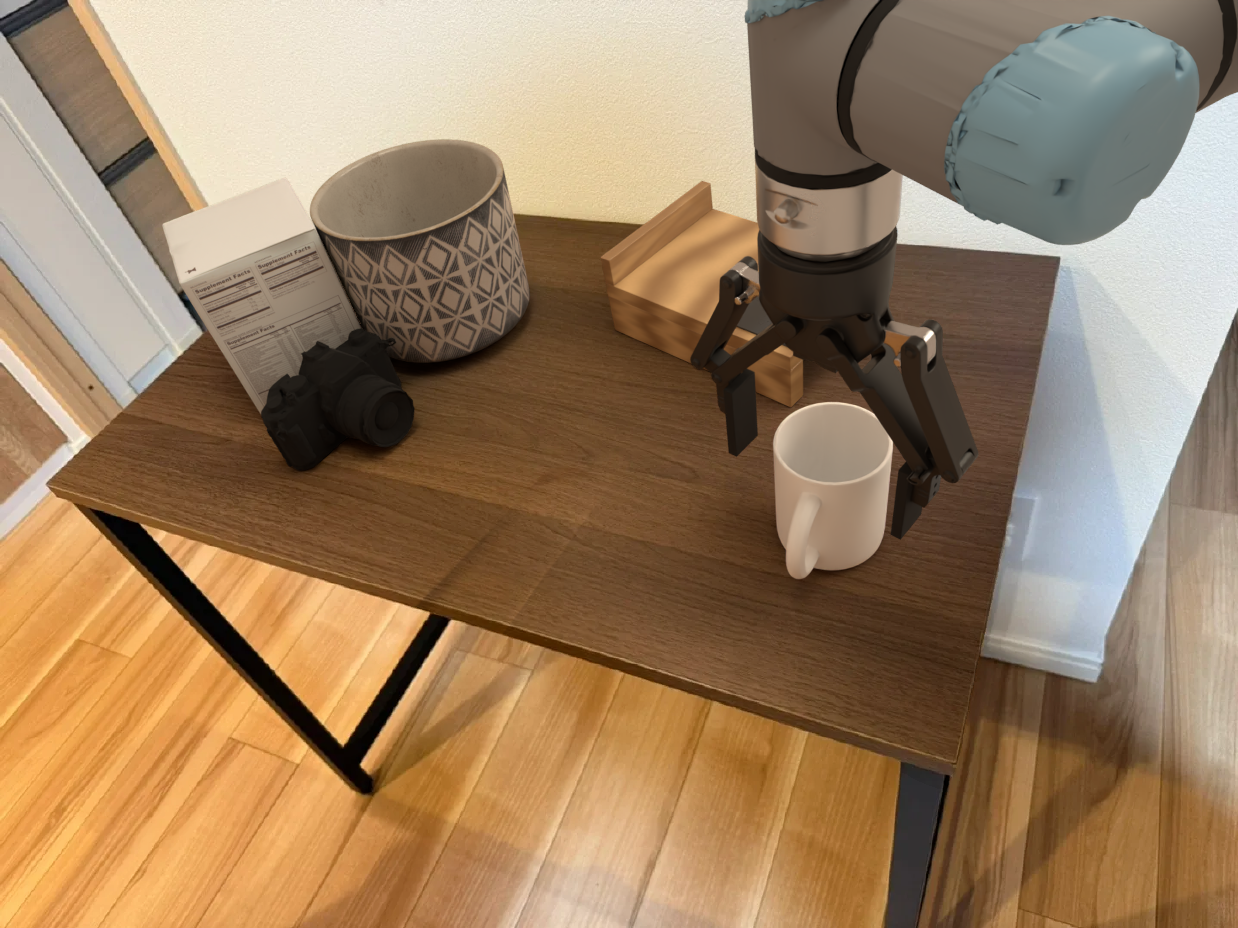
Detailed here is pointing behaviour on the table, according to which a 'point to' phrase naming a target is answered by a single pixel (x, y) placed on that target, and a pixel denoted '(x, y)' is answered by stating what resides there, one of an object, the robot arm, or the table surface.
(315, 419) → the film camera
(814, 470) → the mug
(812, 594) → the table surface
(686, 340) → the shelf
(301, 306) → the supplement box
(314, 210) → the planter
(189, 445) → the table surface
